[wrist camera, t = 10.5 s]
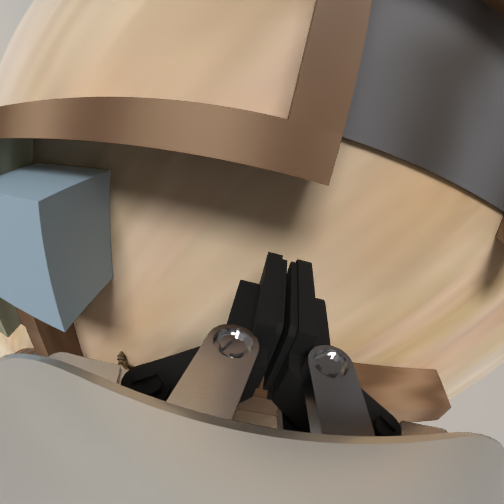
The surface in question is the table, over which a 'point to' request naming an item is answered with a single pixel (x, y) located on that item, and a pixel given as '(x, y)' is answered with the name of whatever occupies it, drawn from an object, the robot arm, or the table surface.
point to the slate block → (54, 240)
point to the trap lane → (322, 133)
